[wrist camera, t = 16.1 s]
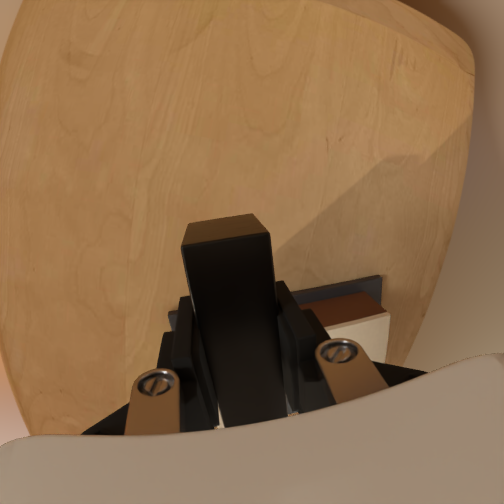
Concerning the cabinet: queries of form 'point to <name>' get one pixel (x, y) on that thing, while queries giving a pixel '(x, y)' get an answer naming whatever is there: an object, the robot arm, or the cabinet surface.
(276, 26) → the cabinet surface
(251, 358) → the cake knife
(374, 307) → the cake
